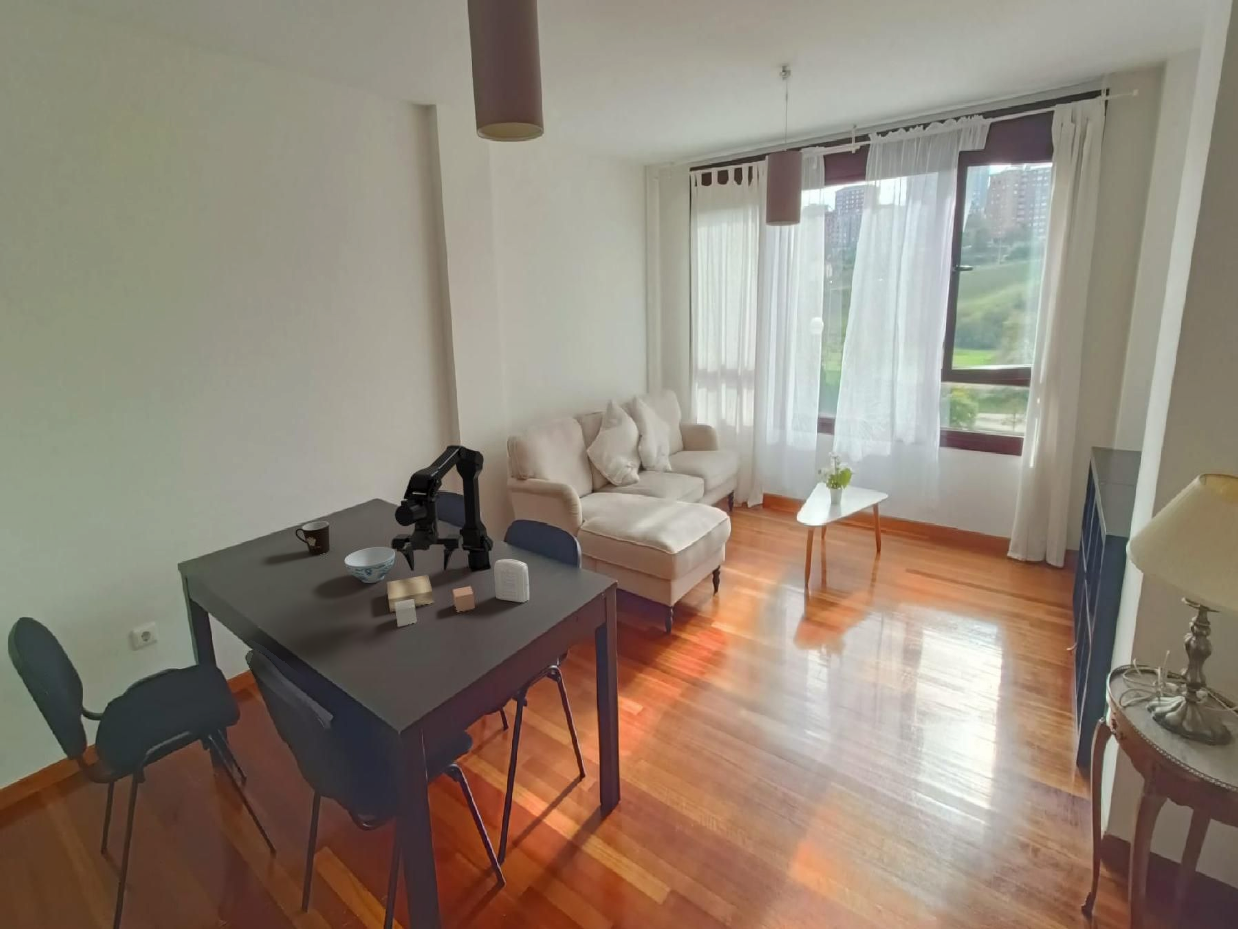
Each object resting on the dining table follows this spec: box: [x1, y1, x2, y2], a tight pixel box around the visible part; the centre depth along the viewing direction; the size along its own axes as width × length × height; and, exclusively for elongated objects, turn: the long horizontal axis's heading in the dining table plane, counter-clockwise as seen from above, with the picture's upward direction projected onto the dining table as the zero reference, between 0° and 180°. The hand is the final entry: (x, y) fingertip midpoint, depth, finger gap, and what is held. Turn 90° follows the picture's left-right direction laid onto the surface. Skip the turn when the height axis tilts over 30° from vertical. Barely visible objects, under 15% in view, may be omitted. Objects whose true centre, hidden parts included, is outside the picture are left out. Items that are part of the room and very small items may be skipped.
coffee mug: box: [294, 520, 330, 556], centre depth 219 cm, size 12×9×10 cm
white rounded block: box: [493, 558, 530, 603], centre depth 180 cm, size 10×4×12 cm, turn 73°
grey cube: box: [395, 599, 418, 628], centre depth 170 cm, size 5×5×5 cm
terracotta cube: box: [452, 585, 476, 613], centre depth 176 cm, size 5×5×5 cm
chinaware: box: [343, 546, 396, 584], centre depth 196 cm, size 15×15×8 cm
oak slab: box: [386, 574, 435, 613], centre depth 182 cm, size 12×12×4 cm
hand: (429, 570), depth 174 cm, fingers open, 9 cm apart
